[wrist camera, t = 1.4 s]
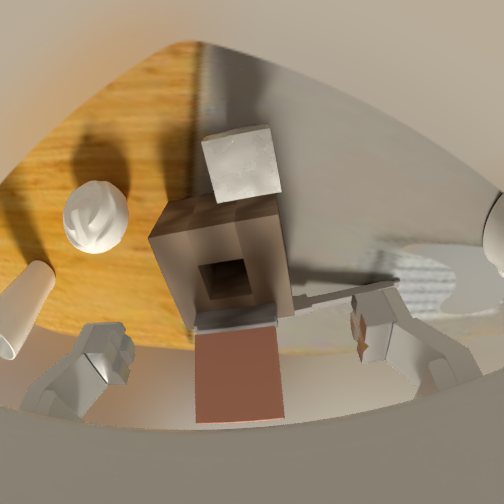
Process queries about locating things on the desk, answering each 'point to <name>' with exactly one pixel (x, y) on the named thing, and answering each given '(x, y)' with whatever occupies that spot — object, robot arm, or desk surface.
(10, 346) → the drinking glass
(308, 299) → the caliper
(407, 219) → the desk surface
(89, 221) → the white ridged ball
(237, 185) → the steel peg
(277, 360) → the panel
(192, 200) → the block
